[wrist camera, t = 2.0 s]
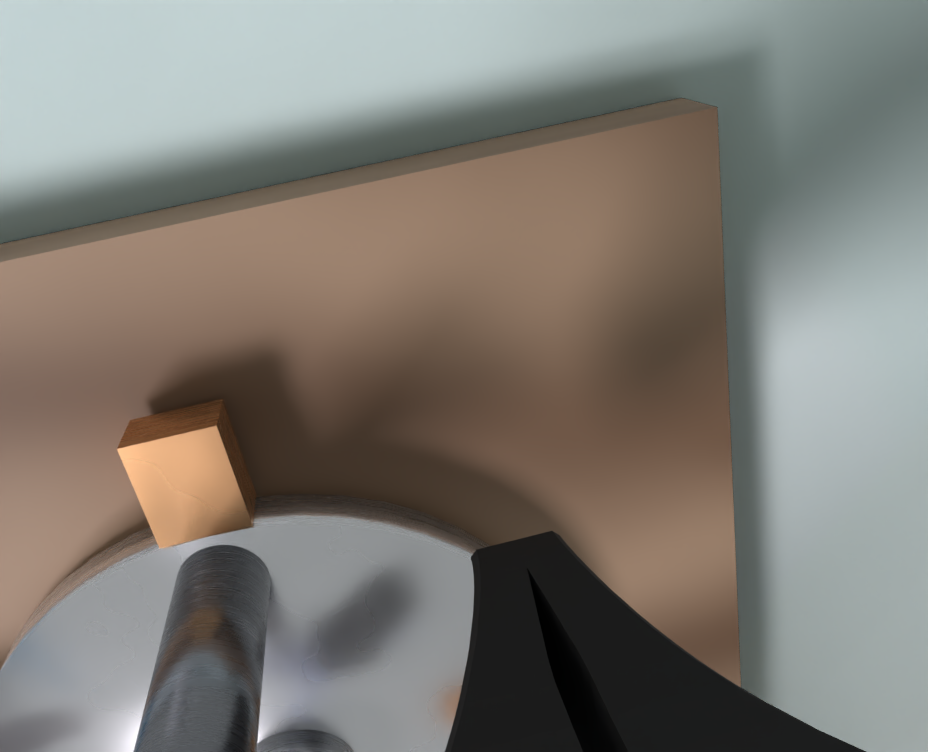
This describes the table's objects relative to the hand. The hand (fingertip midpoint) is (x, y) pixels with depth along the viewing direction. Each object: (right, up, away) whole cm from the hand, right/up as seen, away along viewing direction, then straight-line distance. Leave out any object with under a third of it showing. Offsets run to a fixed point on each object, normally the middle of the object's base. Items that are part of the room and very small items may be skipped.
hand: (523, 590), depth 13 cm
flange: (-5, -3, +4) cm, 7 cm away
